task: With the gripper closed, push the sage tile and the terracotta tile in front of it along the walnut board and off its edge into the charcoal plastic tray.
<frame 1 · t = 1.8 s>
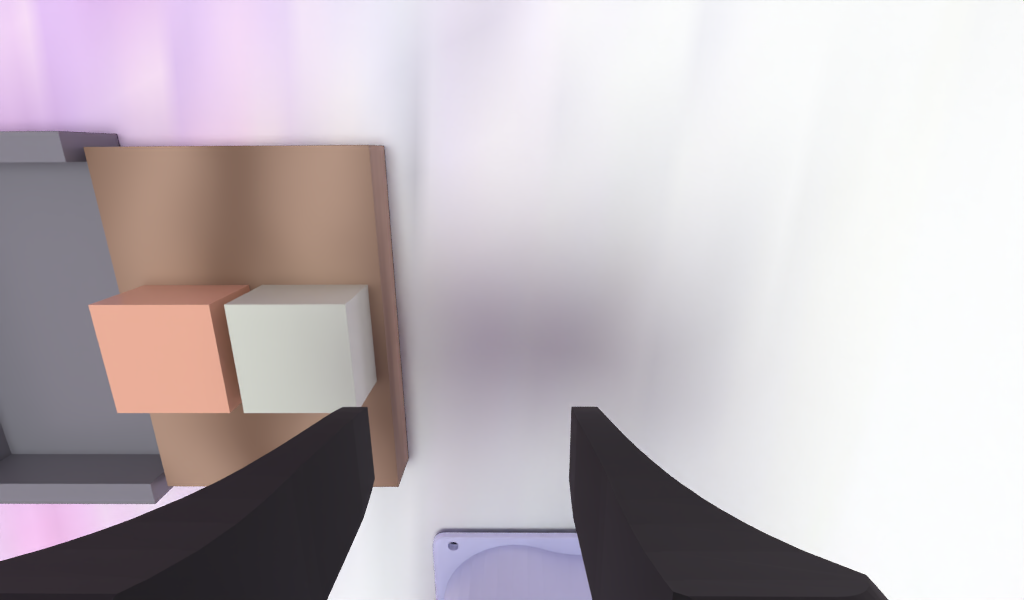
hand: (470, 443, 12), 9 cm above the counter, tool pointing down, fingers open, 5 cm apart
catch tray: (55, 318, 21), on the counter
walnut board: (281, 317, 21), on the counter
terracotta tile: (206, 334, 19), point 2 cm above the counter, touching walnut board
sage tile: (321, 334, 19), point 2 cm above the counter, touching walnut board
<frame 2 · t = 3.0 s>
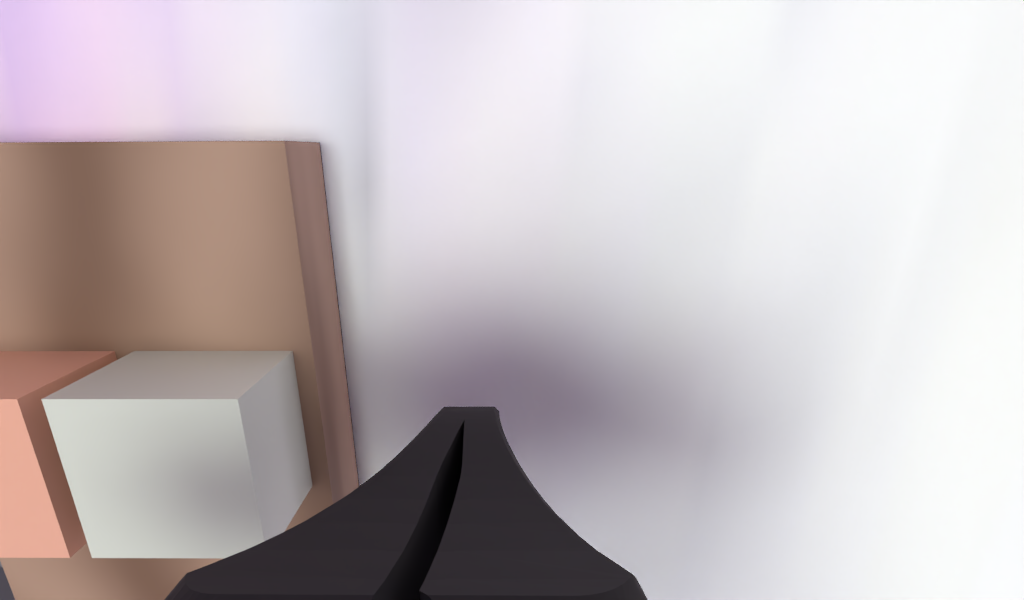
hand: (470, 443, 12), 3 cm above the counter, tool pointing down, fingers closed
walnut board: (183, 386, 15), on the counter
terracotta tile: (58, 421, 13), point 2 cm above the counter, touching walnut board
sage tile: (227, 421, 13), point 2 cm above the counter, touching walnut board
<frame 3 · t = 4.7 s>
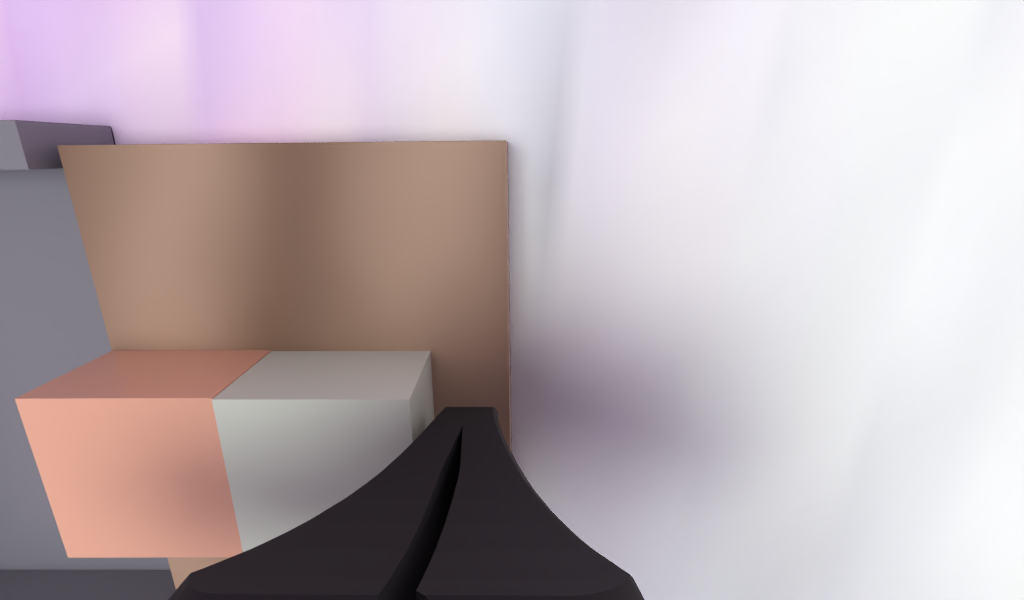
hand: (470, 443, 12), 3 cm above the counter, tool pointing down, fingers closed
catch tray: (25, 388, 15), on the counter
walnut board: (345, 387, 15), on the counter
terracotta tile: (206, 420, 13), point 2 cm above the counter, touching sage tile, walnut board
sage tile: (358, 421, 13), point 2 cm above the counter, touching gripper, terracotta tile, walnut board
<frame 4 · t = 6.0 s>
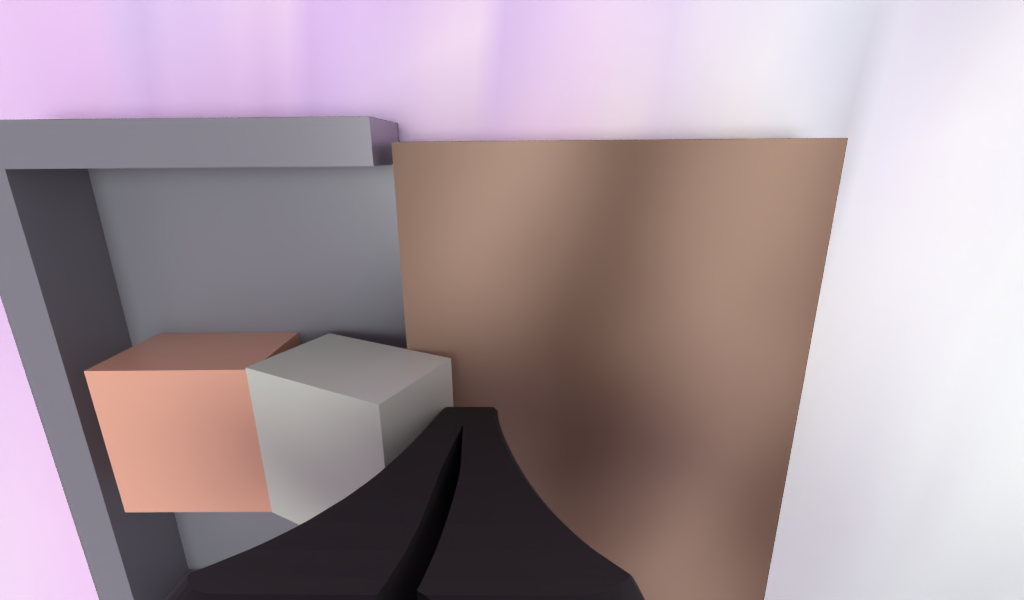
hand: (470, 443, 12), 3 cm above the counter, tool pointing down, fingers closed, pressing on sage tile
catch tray: (268, 387, 15), on the counter
walnut board: (592, 386, 15), on the counter
terracotta tile: (240, 396, 14), resting on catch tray, touching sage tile
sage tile: (392, 414, 13), point 2 cm above the counter, tilted 26°, touching gripper, terracotta tile
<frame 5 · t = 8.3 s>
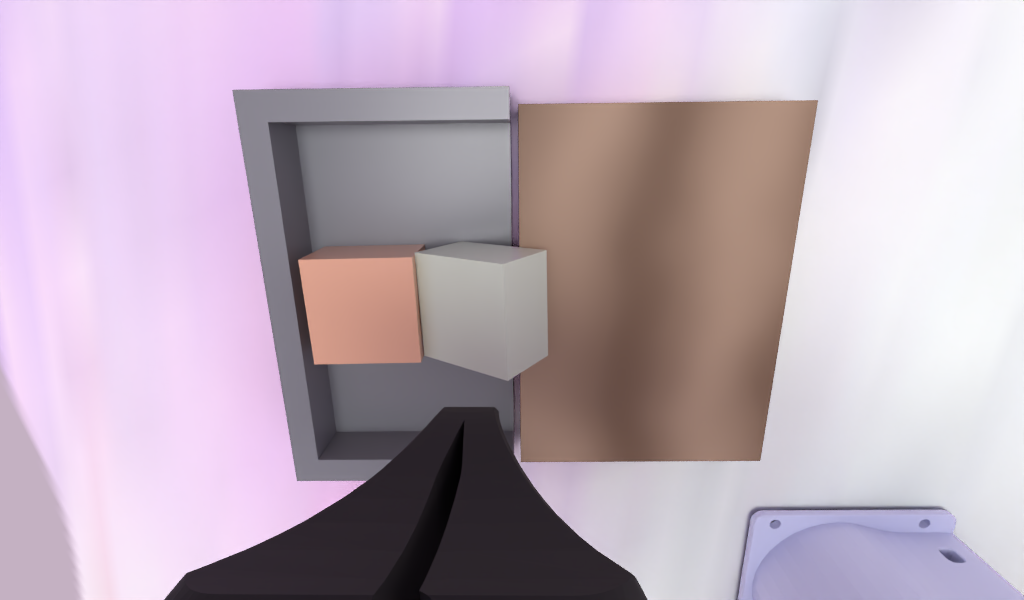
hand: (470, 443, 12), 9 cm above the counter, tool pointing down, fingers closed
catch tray: (404, 289, 20), on the counter
walnut board: (639, 287, 20), on the counter
terracotta tile: (379, 293, 20), resting on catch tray
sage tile: (503, 296, 19), point 2 cm above the counter, tilted 36°, touching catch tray, walnut board
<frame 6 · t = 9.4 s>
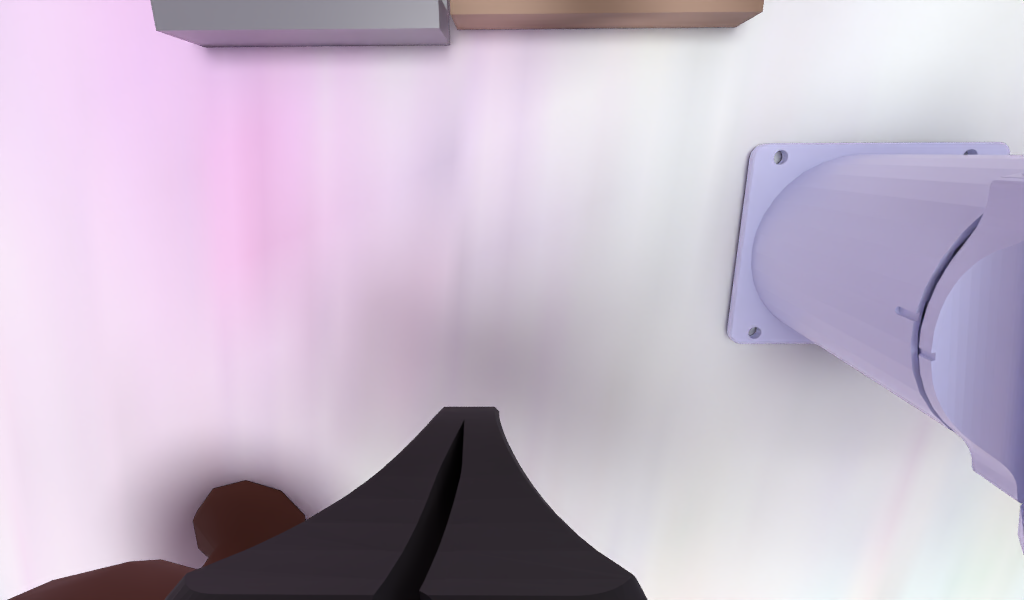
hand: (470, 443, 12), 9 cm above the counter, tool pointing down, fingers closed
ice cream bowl: (254, 525, 24), on the counter
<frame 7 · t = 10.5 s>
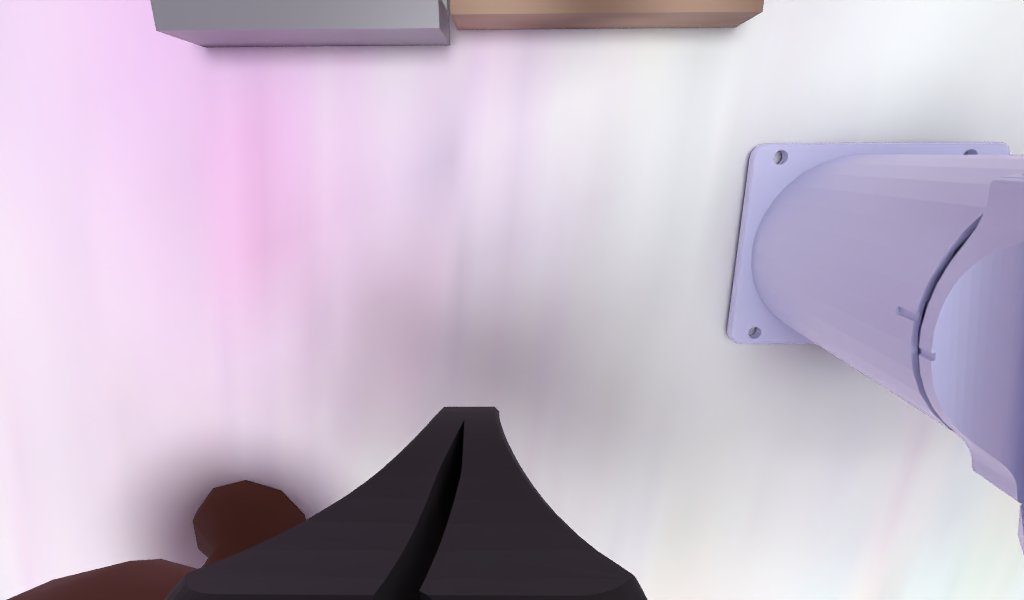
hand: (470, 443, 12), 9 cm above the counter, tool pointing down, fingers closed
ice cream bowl: (254, 525, 24), on the counter
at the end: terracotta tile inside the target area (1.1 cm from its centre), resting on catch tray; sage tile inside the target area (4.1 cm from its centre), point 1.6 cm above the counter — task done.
